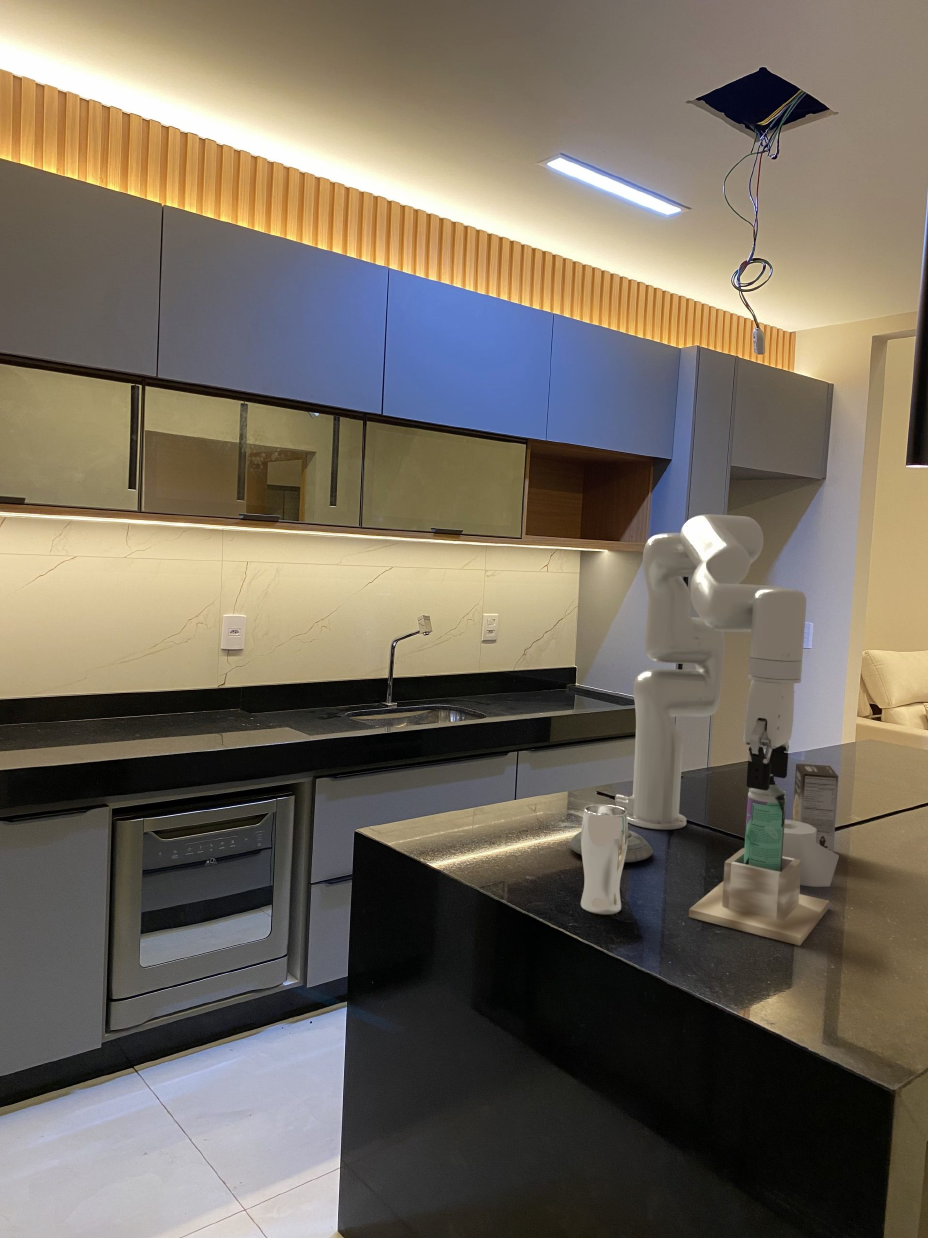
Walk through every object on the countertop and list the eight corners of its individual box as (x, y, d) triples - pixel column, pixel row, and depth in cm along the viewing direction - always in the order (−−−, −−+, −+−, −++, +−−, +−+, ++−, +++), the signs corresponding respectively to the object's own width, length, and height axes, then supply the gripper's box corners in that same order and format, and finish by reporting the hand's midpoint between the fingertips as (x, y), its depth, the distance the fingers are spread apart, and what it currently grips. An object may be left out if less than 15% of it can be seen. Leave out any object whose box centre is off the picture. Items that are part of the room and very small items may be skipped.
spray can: (782, 903, 138) (791, 774, 137) (773, 913, 133) (782, 780, 132) (746, 894, 141) (755, 768, 140) (736, 905, 136) (745, 774, 135)
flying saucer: (666, 856, 164) (668, 826, 164) (627, 875, 152) (628, 843, 152) (595, 838, 173) (596, 810, 173) (552, 854, 162) (554, 824, 161)
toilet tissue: (841, 890, 149) (845, 838, 148) (757, 880, 152) (760, 830, 151) (832, 872, 158) (835, 824, 157) (753, 863, 161) (756, 816, 160)
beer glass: (613, 919, 132) (618, 818, 131) (570, 908, 135) (574, 810, 134) (630, 905, 138) (636, 809, 137) (589, 895, 141) (593, 801, 140)
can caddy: (688, 917, 134) (691, 864, 133) (727, 884, 149) (729, 837, 148) (799, 945, 125) (803, 889, 125) (828, 908, 140) (832, 858, 139)
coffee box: (789, 844, 173) (794, 762, 172) (824, 848, 172) (830, 765, 171) (797, 859, 164) (802, 772, 163) (834, 863, 163) (840, 775, 162)
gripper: (765, 663, 144) (758, 768, 145) (732, 672, 130) (724, 789, 131) (814, 668, 140) (806, 776, 141) (785, 678, 126) (776, 798, 127)
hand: (766, 782), depth 136 cm, fingers open, 9 cm apart
